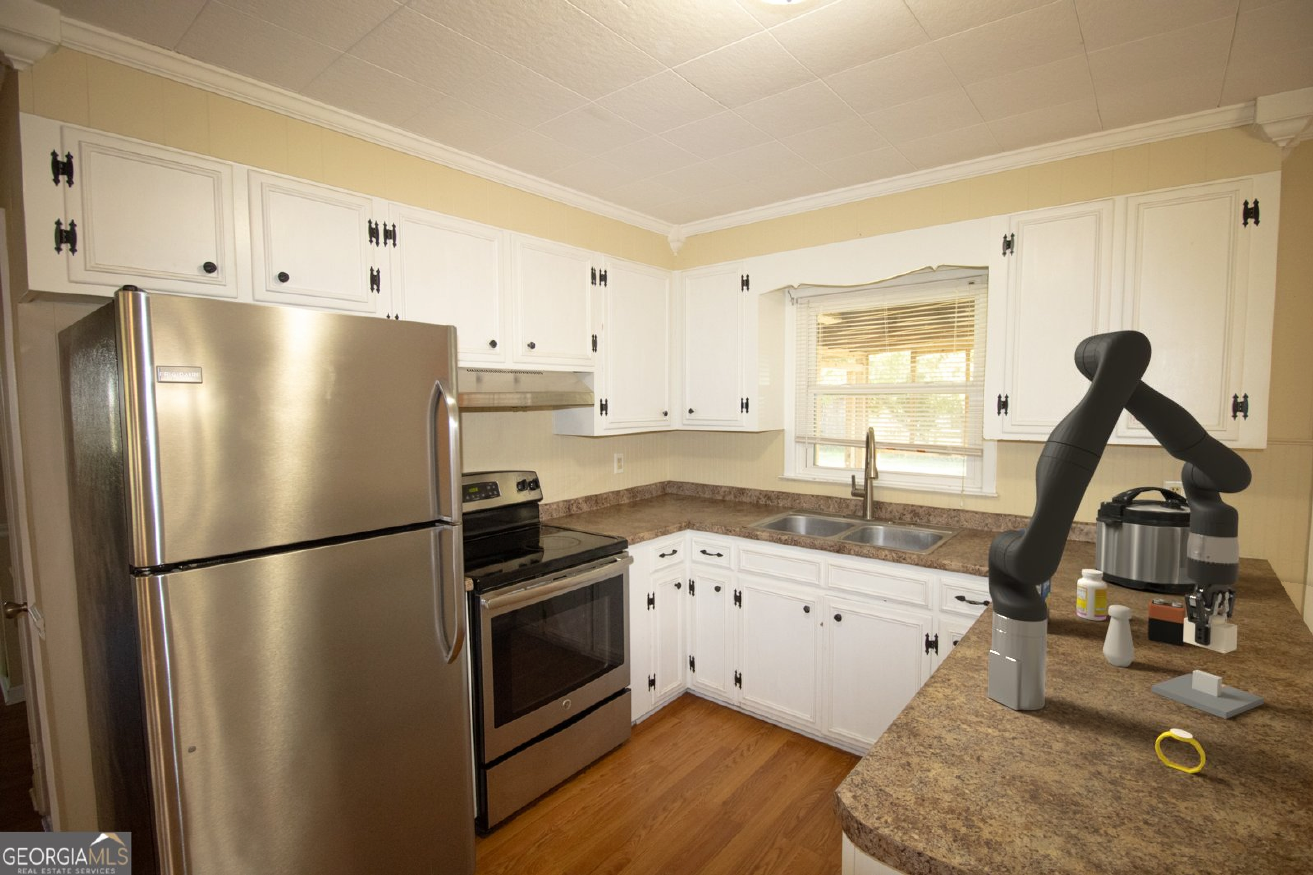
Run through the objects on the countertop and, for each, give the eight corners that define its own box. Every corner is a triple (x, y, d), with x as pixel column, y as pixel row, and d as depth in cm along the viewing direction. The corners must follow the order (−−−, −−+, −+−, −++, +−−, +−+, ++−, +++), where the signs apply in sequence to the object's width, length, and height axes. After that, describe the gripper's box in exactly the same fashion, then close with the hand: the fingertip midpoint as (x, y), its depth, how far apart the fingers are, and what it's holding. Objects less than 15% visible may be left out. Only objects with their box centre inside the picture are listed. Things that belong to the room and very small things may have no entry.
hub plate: (1225, 719, 113) (1226, 694, 113) (1151, 691, 124) (1152, 668, 124) (1263, 703, 119) (1264, 680, 118) (1189, 678, 130) (1190, 657, 129)
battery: (1148, 635, 154) (1150, 596, 154) (1184, 641, 150) (1185, 601, 149) (1147, 639, 151) (1149, 600, 151) (1183, 647, 147) (1185, 606, 146)
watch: (1204, 774, 97) (1209, 739, 96) (1200, 781, 95) (1206, 745, 94) (1156, 755, 101) (1160, 721, 100) (1152, 762, 99) (1157, 727, 99)
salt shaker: (1103, 655, 142) (1105, 600, 141) (1134, 662, 138) (1136, 605, 137) (1101, 664, 137) (1103, 607, 136) (1134, 670, 134) (1136, 612, 133)
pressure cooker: (1189, 578, 205) (1194, 484, 204) (1221, 602, 180) (1226, 495, 178) (1082, 567, 219) (1085, 479, 217) (1098, 588, 194) (1101, 489, 192)
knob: (1224, 653, 117) (1225, 620, 116) (1183, 641, 123) (1184, 610, 122) (1236, 649, 119) (1237, 617, 118) (1195, 637, 125) (1196, 607, 124)
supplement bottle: (1107, 617, 168) (1109, 571, 167) (1104, 623, 163) (1106, 575, 162) (1078, 611, 172) (1080, 566, 171) (1074, 617, 167) (1075, 571, 167)
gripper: (1216, 565, 113) (1213, 655, 114) (1255, 557, 119) (1252, 642, 120) (1169, 556, 120) (1166, 641, 121) (1208, 549, 126) (1205, 630, 127)
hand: (1209, 641), depth 121 cm, fingers closed on knob, 4 cm apart
